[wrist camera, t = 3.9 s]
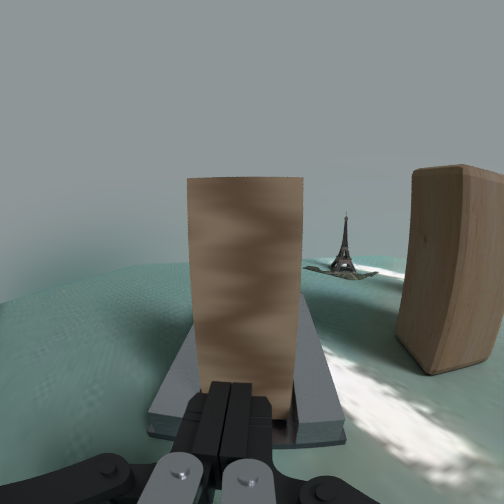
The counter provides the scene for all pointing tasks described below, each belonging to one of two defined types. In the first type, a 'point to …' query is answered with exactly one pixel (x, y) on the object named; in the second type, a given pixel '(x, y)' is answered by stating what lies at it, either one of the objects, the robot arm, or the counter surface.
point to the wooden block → (453, 267)
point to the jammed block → (246, 281)
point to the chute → (283, 430)
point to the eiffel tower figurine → (340, 271)
